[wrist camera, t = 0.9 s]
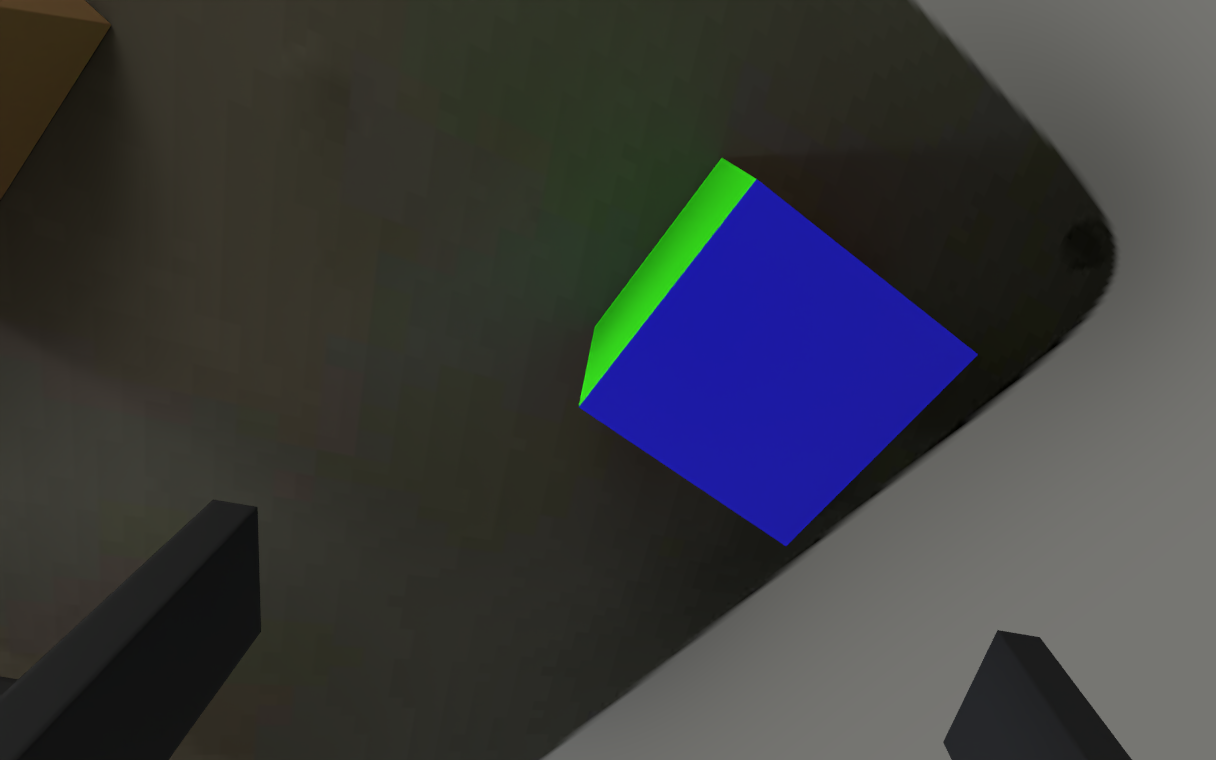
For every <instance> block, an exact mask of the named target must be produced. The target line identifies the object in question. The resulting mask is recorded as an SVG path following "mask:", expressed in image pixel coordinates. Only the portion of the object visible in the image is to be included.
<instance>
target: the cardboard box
mask: <svg viewBox="0 0 1216 760" xmlns="http://www.w3.org/2000/svg"><path fill="white" fill-rule="evenodd" d="M110 26H111V24H110V23H109V22H108V21H107V20H106V19H105V18H104V17H102V16H101V15H100V14H99V13H98V12H97V11H96V10H95V9H94V8H93V7H91V6H90V5H89V4H88V3H87V2H86V1H85V0H0V200H1V198H2V197H3V195H4V194H5V192H6V190H7V189H8V187H9V186H10V184H11V183H12V181H13V179H14V178H15V176H16V175H17V173H18V172H19V170H20V168H21V167H22V165H23V164H24V162H25V160H26V159H27V157H28V156H29V154H30V153H31V151H32V149H33V148H34V146H35V145H36V143H37V141H38V140H39V138H40V137H41V135H42V134H43V132H44V130H45V129H46V127H47V126H48V124H49V123H50V121H51V119H52V118H53V116H54V115H55V113H56V111H57V110H58V108H59V107H60V105H61V104H62V102H63V100H64V99H65V97H66V96H67V94H68V92H69V91H70V89H71V88H72V86H73V85H74V83H75V81H76V80H77V78H78V77H79V75H80V74H81V72H82V70H83V69H84V67H85V66H86V64H87V62H88V61H89V59H90V58H91V56H92V55H93V53H94V51H95V50H96V48H97V47H98V45H99V43H100V42H101V40H102V39H103V37H104V36H105V34H106V32H107V31H108V29H109V28H110Z"/></svg>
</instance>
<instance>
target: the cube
mask: <svg viewBox="0 0 1216 760" xmlns="http://www.w3.org/2000/svg"><path fill="white" fill-rule="evenodd" d="M977 355H978V354H977V353H976V352H974V351H973V350H972V349H970V348H969V347H968V346H967V345H965V344H964V343H963V342H962V341H960V340H959V339H958V338H957V337H955V336H954V335H953V334H952V333H950V332H949V331H948V330H947V329H945V328H944V327H943V326H941V325H940V324H939V323H938V322H936V321H935V320H934V319H933V318H931V317H930V316H929V315H928V314H926V313H925V312H924V311H923V310H921V309H920V308H919V307H917V306H916V305H915V304H914V303H912V302H911V301H910V300H909V299H907V298H906V297H905V296H904V295H902V294H901V293H900V292H899V291H897V290H896V289H895V288H894V287H892V286H891V285H890V284H888V283H887V282H886V281H885V280H883V279H882V278H881V277H880V276H878V275H877V274H876V273H875V272H873V271H872V270H871V269H870V268H868V267H867V266H866V265H865V264H863V263H862V262H861V261H859V260H858V259H857V258H856V257H854V256H853V255H852V254H851V253H849V252H848V251H847V250H846V249H844V248H843V247H842V246H841V245H839V244H838V243H837V242H835V241H834V240H833V239H832V238H830V237H829V236H828V235H827V234H825V233H824V232H823V231H822V230H820V229H819V228H818V227H817V226H815V225H814V224H813V223H812V222H810V221H809V220H808V219H806V218H805V217H804V216H803V215H801V214H800V213H799V212H798V211H796V210H795V209H794V208H793V207H791V206H790V205H789V204H788V203H786V202H785V201H784V200H782V199H781V198H780V197H779V196H777V195H776V194H775V193H774V192H772V191H771V190H770V189H769V188H767V187H766V186H765V185H764V184H762V183H761V182H760V181H759V180H757V179H756V178H754V177H753V176H751V175H749V174H748V173H746V172H744V171H743V170H741V169H739V168H738V167H736V166H734V165H733V164H731V163H729V162H728V161H726V160H725V159H723V158H721V159H720V161H719V162H718V163H717V165H716V166H715V167H714V169H713V170H712V171H711V173H710V174H709V175H708V177H707V178H706V179H705V181H704V182H703V183H702V185H701V186H700V187H699V189H698V190H697V191H696V193H695V194H694V195H693V197H692V198H691V199H690V201H689V202H688V203H687V205H686V206H685V207H684V208H683V210H682V211H681V212H680V214H679V215H678V216H677V218H676V219H675V220H674V222H673V223H672V224H671V226H670V227H669V228H668V230H667V231H666V232H665V234H664V235H663V236H662V238H661V239H660V240H659V242H658V243H657V244H656V246H655V247H654V248H653V250H652V251H651V252H650V254H649V255H648V256H647V258H646V259H645V260H644V262H643V263H642V264H641V266H640V267H639V268H638V270H637V271H636V272H635V274H634V275H633V276H632V278H631V279H630V280H629V282H628V283H627V284H626V286H625V287H624V288H623V290H622V291H621V292H620V294H619V295H618V296H617V298H616V299H615V300H614V302H613V303H612V304H611V306H610V307H609V308H608V310H607V311H606V312H605V314H604V315H603V316H602V318H601V319H600V320H599V322H598V323H597V324H596V326H595V328H594V333H593V338H592V343H591V348H590V353H589V358H588V363H587V368H586V373H585V378H584V383H583V388H582V393H581V398H580V403H579V408H581V409H582V410H584V411H585V412H587V413H588V414H590V415H591V416H593V417H594V418H596V419H597V420H599V421H600V422H602V423H603V424H605V425H606V426H608V427H609V428H611V429H612V430H614V431H615V432H616V433H618V434H619V435H621V436H622V437H624V438H625V439H627V440H628V441H630V442H631V443H633V444H634V445H636V446H637V447H639V448H640V449H642V450H643V451H645V452H646V453H648V454H649V455H651V456H652V457H654V458H655V459H657V460H658V461H660V462H661V463H663V464H664V465H666V466H667V467H669V468H670V469H672V470H673V471H675V472H676V473H678V474H679V475H681V476H682V477H684V478H685V479H687V480H688V481H689V482H691V483H692V484H694V485H695V486H697V487H698V488H700V489H701V490H703V491H704V492H706V493H707V494H709V495H710V496H712V497H713V498H715V499H716V500H718V501H719V502H721V503H722V504H724V505H725V506H727V507H728V508H730V509H731V510H733V511H734V512H736V513H737V514H739V515H740V516H742V517H743V518H745V519H746V520H748V521H749V522H751V523H752V524H754V525H755V526H757V527H758V528H759V529H761V530H762V531H764V532H765V533H767V534H768V535H770V536H771V537H773V538H774V539H776V540H777V541H779V542H780V543H782V544H783V545H785V546H787V545H788V544H789V543H790V542H791V541H792V540H793V539H794V538H795V537H796V536H797V535H798V534H799V533H800V532H801V531H802V530H803V529H804V528H805V527H806V526H807V525H808V524H809V523H810V522H811V521H812V520H813V519H814V518H815V517H816V516H817V515H818V514H819V513H820V512H821V511H822V510H823V509H824V508H825V507H826V506H827V505H828V504H829V503H830V502H831V501H832V500H833V499H834V498H835V497H836V496H837V495H838V494H839V493H840V492H841V491H842V490H843V489H844V488H845V487H846V486H847V485H848V484H849V483H850V482H851V481H852V480H853V479H854V478H855V477H856V476H857V475H858V474H859V473H860V472H861V471H862V470H863V469H864V468H865V467H866V466H867V465H868V464H869V463H870V462H871V461H872V460H873V459H874V458H875V457H876V456H877V455H878V454H879V453H880V452H881V451H882V450H883V449H884V448H885V447H886V446H887V445H888V444H889V443H890V442H891V441H892V440H893V439H894V438H895V437H896V436H897V435H898V434H899V433H900V432H901V431H902V430H903V429H904V428H905V427H906V426H907V425H908V424H909V423H910V422H911V421H912V420H913V419H914V418H915V417H916V416H917V415H918V414H919V413H920V412H921V411H922V410H923V409H924V408H925V407H926V406H927V405H928V404H929V403H930V402H931V401H932V400H933V399H934V398H935V397H936V396H937V395H938V394H939V393H940V392H941V391H942V390H943V389H944V388H945V387H946V386H947V385H948V384H949V383H950V382H951V381H952V380H953V379H954V378H955V377H956V376H957V375H958V374H959V373H960V372H961V371H962V370H963V369H964V368H965V367H966V366H967V365H968V364H969V363H970V362H971V361H972V360H973V359H974V358H975V357H976V356H977Z"/></svg>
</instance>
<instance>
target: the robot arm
mask: <svg viewBox="0 0 1216 760" xmlns="http://www.w3.org/2000/svg"><path fill="white" fill-rule="evenodd" d="M260 632H261V616H260V581H259V546H258V511H257V507H254V506H248V505H242V504H236V503H230V502H224V501H218V500H212V501H211V502H210V503H209V504H208V505H207V506H206V507H205V508H204V509H202V510H201V511H200V512H199V513H198V514H197V515H196V516H195V517H194V518H193V519H192V520H191V521H189V522H188V523H187V524H186V525H185V526H184V527H183V528H182V529H181V530H180V531H179V532H178V533H176V534H175V535H174V536H173V537H172V538H171V539H170V540H169V541H168V542H167V543H166V544H165V545H163V546H162V547H161V548H160V549H159V550H158V551H157V552H156V553H155V554H154V555H153V556H152V557H151V558H149V559H148V560H147V561H146V562H145V563H144V564H143V565H142V566H141V567H140V568H139V569H138V570H136V571H135V572H134V573H133V574H132V575H131V576H130V577H129V578H128V579H127V580H126V581H125V582H123V583H122V584H121V585H120V586H119V587H118V588H117V589H116V590H115V591H114V592H113V593H112V594H110V595H109V596H108V597H107V598H106V599H105V600H104V601H103V602H102V603H101V604H100V605H99V606H97V607H96V608H95V609H94V610H93V611H92V612H91V613H90V614H89V615H88V616H87V617H86V618H84V619H83V620H82V621H81V622H80V623H79V624H78V625H77V626H76V627H75V628H74V629H73V630H71V631H70V632H69V633H68V634H67V635H66V636H65V637H64V638H63V639H62V640H61V641H60V642H58V643H57V644H56V645H55V646H54V647H53V648H52V649H51V650H50V651H49V652H48V653H47V654H45V655H44V656H43V657H42V658H41V659H40V660H39V661H38V662H37V663H36V664H35V665H34V666H32V667H31V668H30V669H29V670H28V671H27V672H26V673H25V674H24V675H23V676H22V677H21V678H19V679H12V678H6V677H0V760H169V758H170V757H171V755H172V754H173V753H174V751H175V750H176V748H177V747H178V746H179V744H180V743H181V742H182V740H183V739H184V737H185V736H186V735H187V733H188V732H189V730H190V729H191V728H192V726H193V725H194V724H195V722H196V721H197V719H198V718H199V717H200V715H201V714H202V712H203V711H204V710H205V708H206V707H207V705H208V704H209V703H210V701H211V700H212V699H213V697H214V696H215V694H216V693H217V692H218V690H219V689H220V687H221V686H222V685H223V683H224V682H225V680H226V679H227V678H228V676H229V675H230V674H231V672H232V671H233V669H234V668H235V667H236V665H237V664H238V662H239V661H240V660H241V658H242V657H243V656H244V654H245V653H246V651H247V650H248V649H249V647H250V646H251V644H252V643H253V642H254V640H255V639H256V637H257V636H258V635H259V633H260ZM944 745H945V747H946V749H947V751H948V753H949V755H950V757H951V759H952V760H1132V759H1131V758H1130V757H1129V755H1128V754H1127V753H1126V752H1125V750H1124V749H1123V748H1122V746H1121V745H1120V744H1119V742H1118V741H1117V739H1116V738H1115V737H1114V735H1113V734H1112V733H1111V731H1110V730H1109V729H1108V727H1107V726H1106V725H1105V723H1104V722H1103V721H1102V720H1101V718H1100V717H1099V715H1098V714H1097V713H1096V712H1095V710H1094V709H1093V707H1092V706H1091V705H1090V704H1089V702H1088V701H1087V700H1086V698H1085V697H1084V696H1083V694H1082V693H1081V692H1080V691H1079V689H1078V688H1077V686H1076V685H1075V684H1074V683H1073V681H1072V680H1071V678H1070V677H1069V676H1068V674H1067V673H1066V672H1065V670H1064V669H1063V668H1062V666H1061V665H1060V664H1059V662H1058V661H1057V660H1056V659H1055V657H1054V656H1053V655H1052V653H1051V652H1050V650H1049V649H1048V648H1047V647H1046V645H1045V644H1044V642H1043V641H1042V640H1041V638H1040V637H1034V636H1029V635H1022V634H1017V633H1011V632H1005V631H999V630H998V631H997V633H996V635H995V637H994V639H993V641H992V643H991V645H990V647H989V649H988V651H987V653H986V655H985V657H984V659H983V661H982V663H981V666H980V668H979V670H978V672H977V674H976V676H975V678H974V680H973V682H972V684H971V686H970V688H969V690H968V692H967V694H966V697H965V698H964V701H963V703H962V705H961V707H960V709H959V711H958V713H957V715H956V717H955V719H954V721H953V723H952V725H951V727H950V730H949V731H948V733H947V736H946V738H945V740H944Z"/></svg>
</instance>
